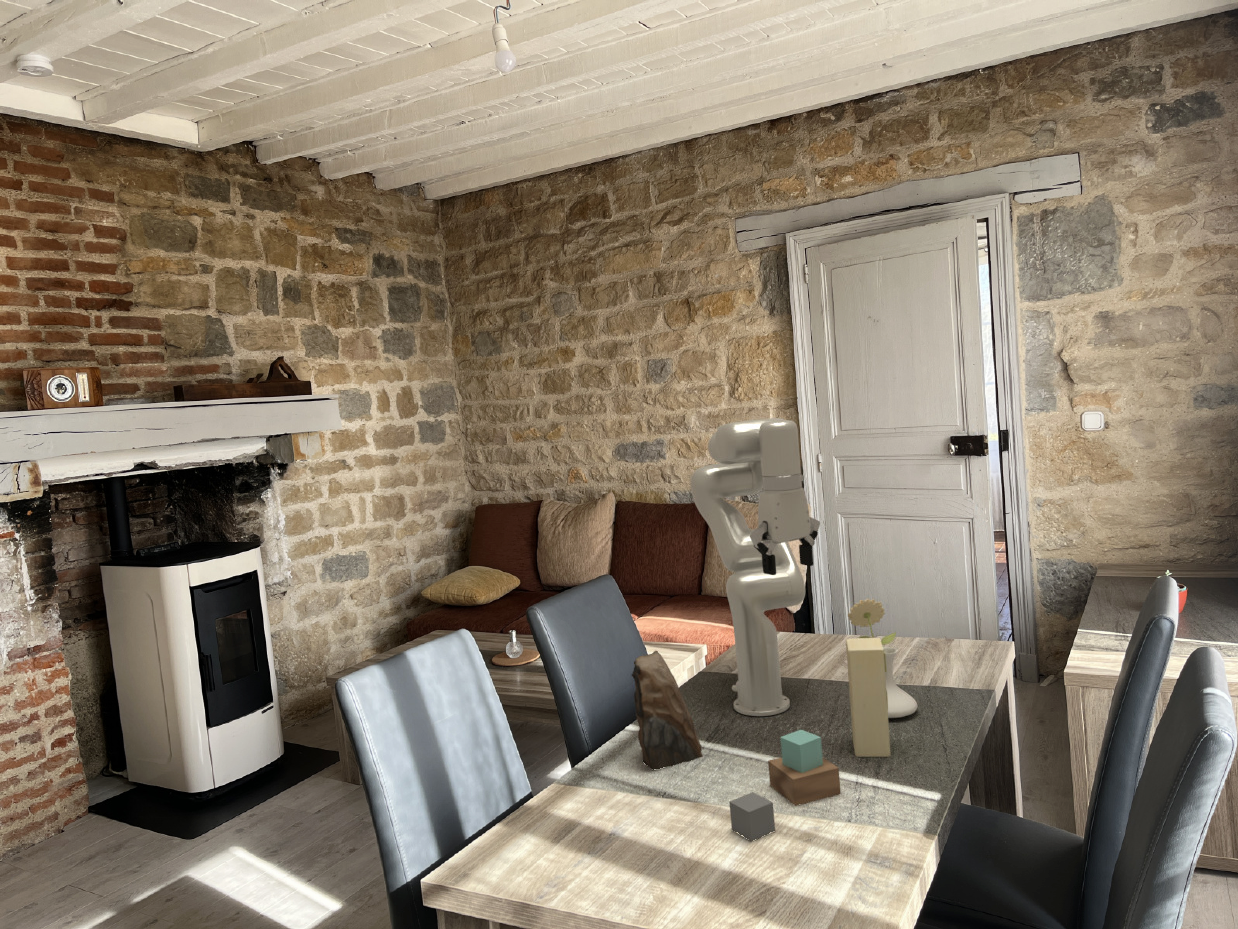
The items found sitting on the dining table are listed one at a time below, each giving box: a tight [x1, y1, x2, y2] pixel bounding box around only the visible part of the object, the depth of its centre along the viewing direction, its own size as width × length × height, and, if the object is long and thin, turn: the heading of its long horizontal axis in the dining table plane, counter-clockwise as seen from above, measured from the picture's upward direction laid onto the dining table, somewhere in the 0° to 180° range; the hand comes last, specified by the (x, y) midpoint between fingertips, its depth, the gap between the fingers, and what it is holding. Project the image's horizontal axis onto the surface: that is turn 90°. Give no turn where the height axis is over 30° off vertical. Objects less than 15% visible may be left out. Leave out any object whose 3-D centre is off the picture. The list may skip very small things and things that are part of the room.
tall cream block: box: [845, 637, 891, 758], centre depth 170 cm, size 8×7×21 cm
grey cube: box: [728, 791, 776, 842], centre depth 143 cm, size 5×5×5 cm
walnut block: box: [767, 756, 842, 807], centre depth 156 cm, size 9×9×5 cm
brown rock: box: [631, 650, 704, 771], centre depth 177 cm, size 13×13×20 cm
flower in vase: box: [847, 598, 919, 719], centre depth 187 cm, size 13×11×25 cm
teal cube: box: [780, 729, 824, 773], centre depth 156 cm, size 5×5×5 cm
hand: (788, 569), depth 173 cm, fingers open, 9 cm apart
